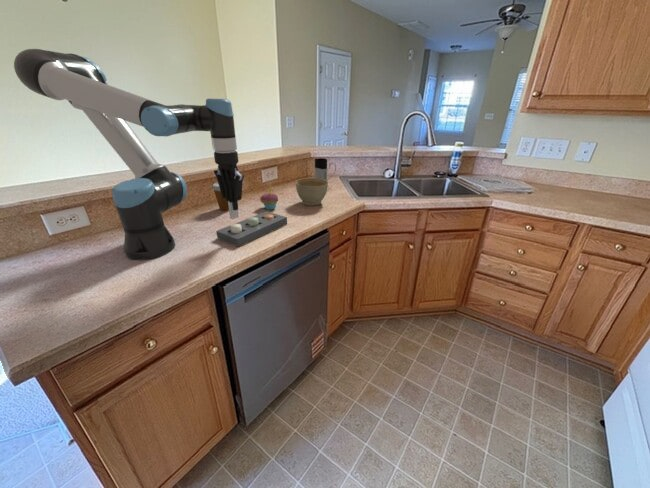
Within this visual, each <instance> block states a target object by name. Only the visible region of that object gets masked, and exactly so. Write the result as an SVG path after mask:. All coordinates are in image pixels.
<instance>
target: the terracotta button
mask: <svg viewBox="0 0 650 488" xmlns="http://www.w3.org/2000/svg"><path fill="white" fill-rule="evenodd" d="M264 219H266V220H271V219H274V215H272V214H267V215H264Z"/></svg>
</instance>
